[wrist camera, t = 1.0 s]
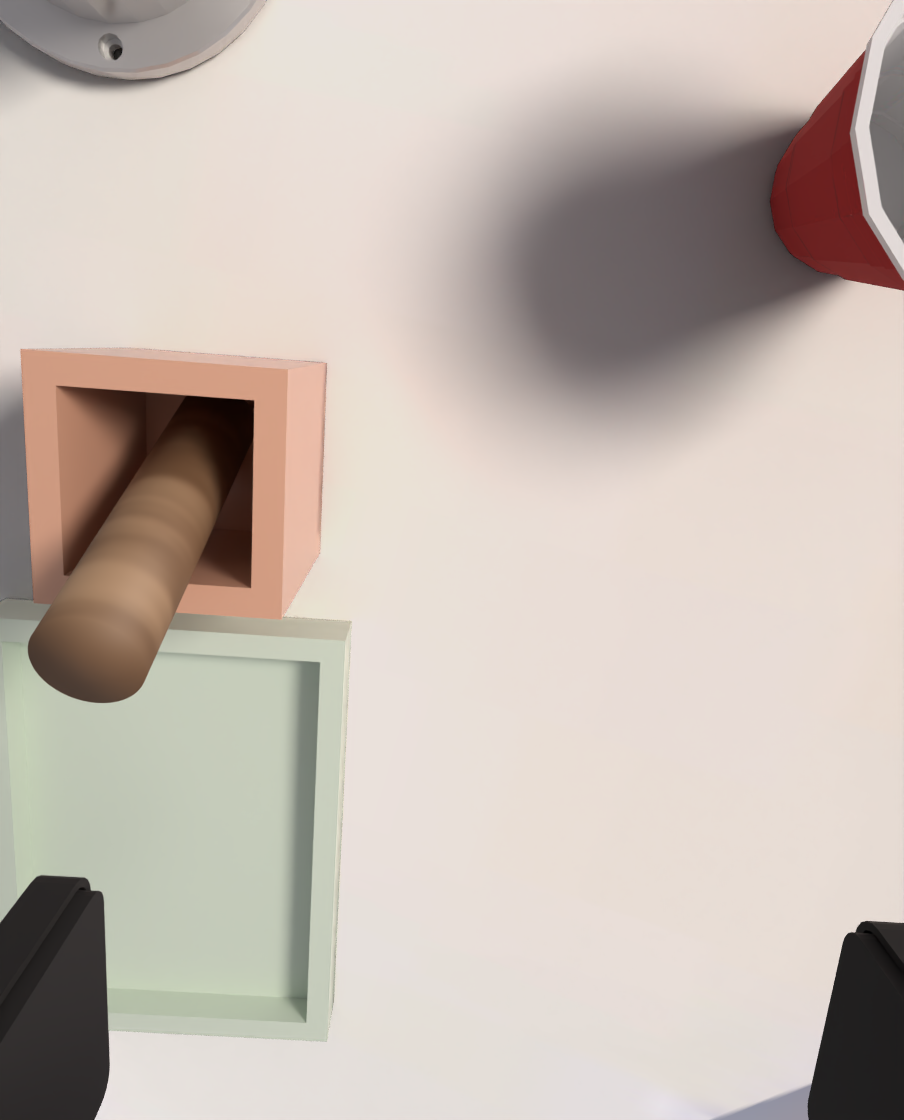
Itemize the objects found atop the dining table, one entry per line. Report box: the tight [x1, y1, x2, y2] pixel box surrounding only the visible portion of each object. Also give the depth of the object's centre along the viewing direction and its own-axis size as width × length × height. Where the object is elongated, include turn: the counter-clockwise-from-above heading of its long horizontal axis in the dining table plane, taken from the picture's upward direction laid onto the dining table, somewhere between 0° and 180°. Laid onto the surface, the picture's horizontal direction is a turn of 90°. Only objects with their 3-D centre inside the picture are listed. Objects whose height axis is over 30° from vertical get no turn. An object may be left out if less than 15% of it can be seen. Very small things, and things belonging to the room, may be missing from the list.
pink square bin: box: [21, 348, 327, 620], centre depth 31 cm, size 8×8×9 cm
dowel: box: [28, 395, 254, 703], centre depth 27 cm, size 8×3×14 cm, turn 176°
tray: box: [0, 599, 352, 1042], centre depth 38 cm, size 20×15×2 cm
